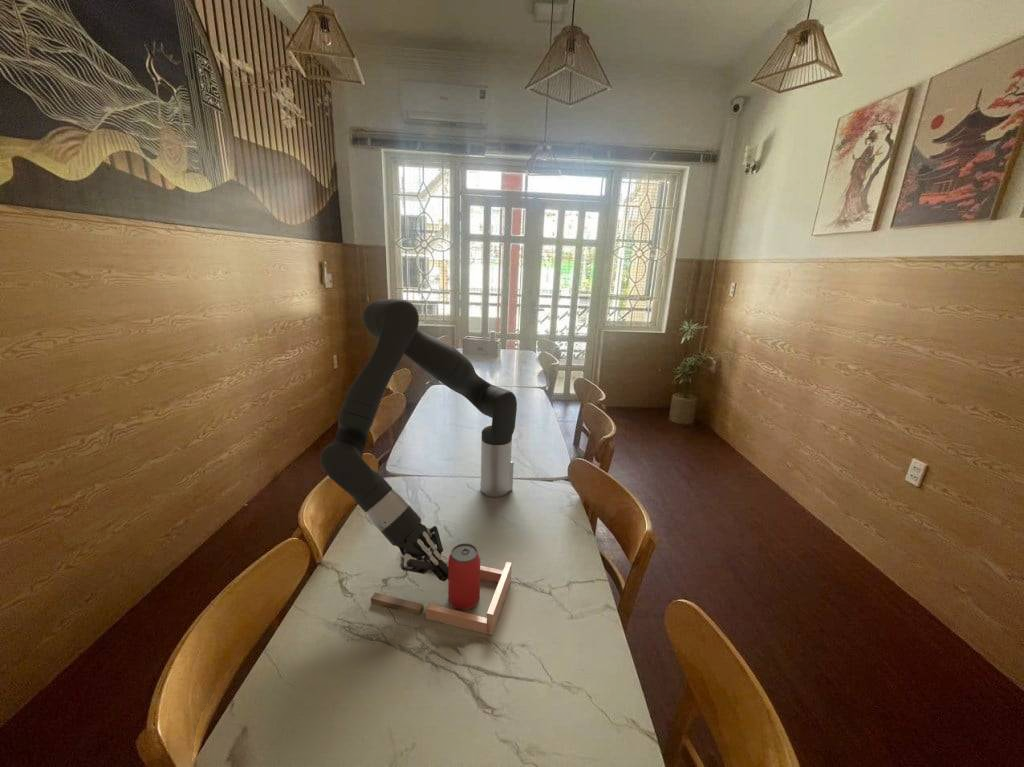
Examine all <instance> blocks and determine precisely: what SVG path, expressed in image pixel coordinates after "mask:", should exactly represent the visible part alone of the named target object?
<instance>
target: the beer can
mask: <svg viewBox="0 0 1024 767" xmlns="http://www.w3.org/2000/svg"><path fill="white" fill-rule="evenodd" d="M447 562H448V579H447V580H448V582H447V583H448V586H447V587H448V596H447V598H448V602H449V604H450V605H451V606H452V607H453V608H454V609H457V610H458V611H460V610H461V611H466V610H470V609H472V608H473V607H474V608H475V606H477V604H478V603H479V601H480V598H481V596H480V595H481V594H480V593H481V589H480V588H481V579H480V566H481V557H480V554H479V550H478V547H476V546H475V545H474V544H472V543H468V542H465V543H463V542H462V543H458V544H457V545H455V546H453V547H452V549H451V550H450V554H449V556H448V560H447Z"/></svg>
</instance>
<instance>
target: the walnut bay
mask: <svg viewBox="0 0 1024 767" xmlns="http://www.w3.org/2000/svg"><path fill="white" fill-rule="evenodd" d="M400 561H401V564H404V556H403V555H402V556H401V557H400ZM427 561H428V560H427ZM428 562H429V561H428ZM444 562H445V564H446V565H447V566H448V561H444ZM429 563H430V562H429ZM370 604H371V605H373V606H378V607H381V608H386V609H389V610H393V611H398V612H402V613H405V614H410V615H413V616H418V617H421V616H422V614H423V612H424V604H423V603H420V602H417V601H416V602H415V601H411V600H408V599H403V598H400V597H396V596H391V595H388V594H383V593H379V592H374V593H373V594H372V596H371V597H370Z"/></svg>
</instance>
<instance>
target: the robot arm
mask: <svg viewBox="0 0 1024 767" xmlns="http://www.w3.org/2000/svg"><path fill="white" fill-rule="evenodd" d="M363 322H364V325H365V327H366V330H367V331H368V332H369V333H370V334H371V336H373V337H374V338H375V339H377V340H378V343H377V345H376V347H375V350H374V352H373V354H372V355H371V356H370V358H369V360H368V362H367V363H366V364H365V366H364V367H363V368H362V370H361V371H360V372H359V373H358V375H357V376H356V378H355V379H354V380H353V381H352V384H351V385H350V387H349V389H348V391H347V393H346V395H345V398H344V400H343V403H342V406H341V408H340V412H339V414H338V419H337V424H338V426H337V428H336V429H337V430H336V433H335V436H334V439H333V440H332V442H330V443H329V444H327V445H326V446H325V447H323V449H322V451H321V453H320V456H319V461H320V462H319V463H320V466H321V469H322V470H323V471H324V473H325V474H326V475H327V476H328V477H329V478H330V479H331V480H332V481H333V482H334V483H335V484H337V485H338V486H339V487H340V488H341V489H342V490H344V491H345V492H346V493H348V494H349V495H350V496H351V497H352V498H353V501H355V502H356V504H357V505H358V506H359V507H360V508H361V509H362V510H363V512H364V513H365V514H366V515H367V516H368V518H369V520H370V521H371V523H372V524H374V526H375V527H376V528H377V529H378V530H379V532H380V533H381V534H383V536H384V537H385V538H386V539H387V540H388V542H389V543H390V544H391V545H392V546H394V547H397V548H398V549H399V551H400V554H401V555H402V556H404V563H401V565H400V566H401V570H402V571H405V572H406V571H407V572H411V573H417V574H423V575H424V574H426V573H427V572H429V571H431V572H432V573H433V575H435V577H436V578H437V579H438V580H439V581H441V582H445V581H446V582H447V580H448V566H447V565H446V564H445V562H446V561H444V560H443V558H442V553H443V552H444V547H443V544H442V541H441V536H440V534H439V529H438V527H437V526H436V525H434V526H432V527H427V526H426V525H424V524H423V523H422V518H421V517H420V516H419V514H418V513H417V512H416V511H415V510H414V509H413V508H412V507H411V506H410V505H409V503H408V502H407V501H406V500H405V499H404V498H403V496H401V494H400V493H398V492H397V491H396V490H395V489H394V488H393V487H392V486H391V485H390V484H389V483H388V481H387V480H386V479H385V478H384V477H383V476H382V475H381V474H380V473H379V472H377V471H376V470H373V469H372V468H371V467H370V466H369V464H368V463H367V462H366V461H365V460H364V458H363V457H364V452H365V450H366V445H367V443H368V438H369V433H370V430H371V428H372V426H373V424H374V421H375V419H376V415H377V413H378V411H379V407H380V405H381V402H382V399H383V396H384V395H385V392H386V390H387V387H388V386H389V382H390V381H391V379H392V377H393V375H394V373H395V371H396V369H397V367H398V365H399V364H400V362H401V360H402V358H403V356H406V357H407V358H408V359H410V360H411V361H412V362H413V363H415V364H416V365H417V366H418V367H420V368H421V369H423V370H424V371H425V372H427V373H428V374H429V375H430V376H432V377H433V378H434V379H435V380H437V381H438V382H440V383H441V384H442V385H444V386H446V387H447V388H449V389H450V390H452V391H453V392H455V393H457V394H459V395H461V396H463V397H464V398H465V399H466V400H468V401H469V403H471V404H472V405H473V407H475V408H476V409H477V410H478V411H479V412H480V413H481V414H483V415H485V416H487V417H489V418H491V425H488V426H485V427H483V429H482V430H481V441H480V442H481V443H480V444H481V446H480V447H481V448H480V450H481V452H480V491H481V493H482V494H484V495H485V496H488V497H493V498H494V497H495V498H496V497H497V498H498V497H503V496H506V495H508V494H509V492H511V491H513V489H514V488H513V487H514V485H513V483H514V464H515V463H514V461H512V446H513V434H514V432H515V429H516V420H517V419H516V418H517V410H518V400H517V397H516V395H515V393H514V392H512V391H510V390H509V389H505V388H502V387H499V386H497V385H493V384H492V383H490V382H488V381H487V380H485V379H483V378H482V377H480V376H479V375H478V374H477V372H476V370H475V368H474V365H473V364H472V362H471V361H470V360H469V359H468V358H467V357H466V356H465V355H463V353H461V352H460V351H459V350H458V349H457V348H455V347H454V346H452V344H451V345H450V344H449V343H447V342H445V341H443V340H441V339H439V338H437V337H435V336H432V335H430V334H429V333H426V332H424V331H422V330H421V329H419V328H418V327H419V322H420V317H419V312H418V309H417V308H416V306H415V305H414V304H413V303H412V302H411V301H409V300H407V299H403V298H402V299H401V298H383V299H378V300H375V301H372V302H370V303H368V305H367V306H366V307H365V308H364V312H363ZM427 560H428V561H429V562H430V563H429V562H428V561H427Z"/></svg>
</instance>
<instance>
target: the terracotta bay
mask: <svg viewBox="0 0 1024 767" xmlns="http://www.w3.org/2000/svg"><path fill="white" fill-rule="evenodd" d="M512 566H513V563H512V562H508V561H506V562H505V564H504V568H503V569H499V568H494V567H489V566H485V565H480V580H485V581H489V582H494V583H497V586H496V588H495V591H494V593H493V597H492V598H491V601H490V604H489V607H488V610H487V613H486V617H484V616H480V615H476V614H472V613H467V612H464V611H460V610H455V609H452V608H447V607H443V606H438V605H436V604H432V603H431V604H430V603H428V604H427V606H426V608H425V618H426V619H427V620H431V621H433V622H434V621H435V622H438V623H442V624H443V623H444V624H447V625H450V626H451V625H452V626H454V627H459V628H463V629H466V630H470V631H474V632H478V633H481V634H482V633H483V634H484V635H485V634H486V635H490V636H493V634H494V632H495V628H496V626H497V623H498V621H499V620H498V619H499V617H500V613H501V611H502V609H503V608H502V607H503V605H504V602H505V600H506V596H507V594H508V591H509V588H510V584H511V582H512Z"/></svg>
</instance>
